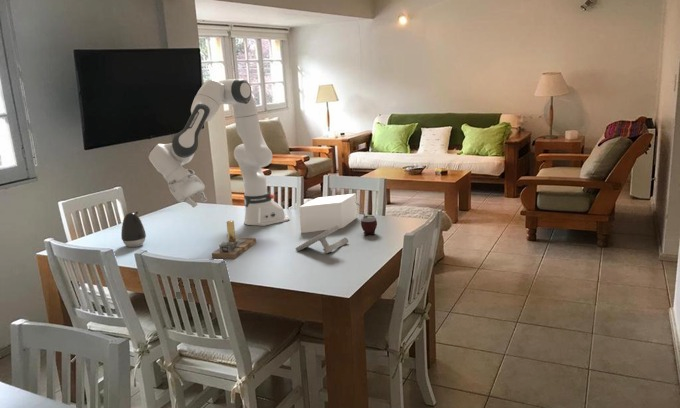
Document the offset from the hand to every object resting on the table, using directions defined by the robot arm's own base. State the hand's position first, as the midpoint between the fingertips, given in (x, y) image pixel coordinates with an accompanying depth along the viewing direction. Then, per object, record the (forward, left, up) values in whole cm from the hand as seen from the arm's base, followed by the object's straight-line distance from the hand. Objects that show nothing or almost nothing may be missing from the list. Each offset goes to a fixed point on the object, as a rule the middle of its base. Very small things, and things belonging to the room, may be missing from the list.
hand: (200, 203), depth 237 cm
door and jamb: (-10, +9, -20) cm, 24 cm away
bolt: (-8, +11, -17) cm, 22 cm away
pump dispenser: (+27, -24, -20) cm, 41 cm away
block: (-60, -7, -20) cm, 64 cm away
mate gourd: (-68, +18, -20) cm, 73 cm away
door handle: (-44, +26, -20) cm, 55 cm away
